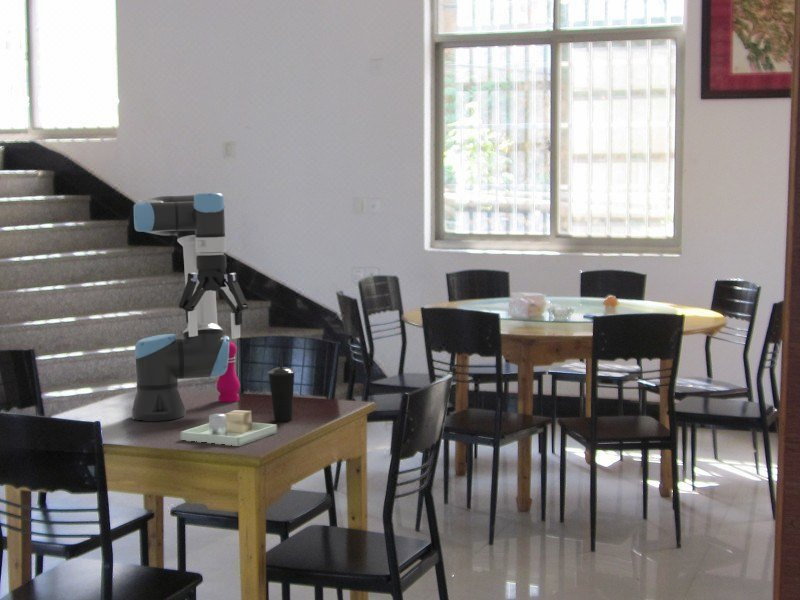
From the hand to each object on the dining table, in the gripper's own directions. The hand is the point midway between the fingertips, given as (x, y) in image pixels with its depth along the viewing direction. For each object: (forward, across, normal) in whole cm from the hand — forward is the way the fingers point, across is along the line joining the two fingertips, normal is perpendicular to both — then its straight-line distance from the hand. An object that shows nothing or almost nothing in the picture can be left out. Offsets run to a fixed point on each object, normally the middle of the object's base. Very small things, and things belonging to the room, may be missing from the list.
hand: (214, 337), depth 278 cm
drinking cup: (+27, +1, +28) cm, 39 cm away
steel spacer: (+26, 0, 0) cm, 26 cm away
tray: (+27, 0, +4) cm, 27 cm away
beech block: (+26, 0, +9) cm, 28 cm away
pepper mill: (+27, -32, +47) cm, 63 cm away
